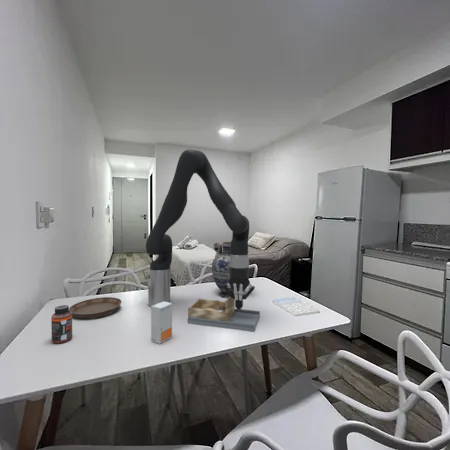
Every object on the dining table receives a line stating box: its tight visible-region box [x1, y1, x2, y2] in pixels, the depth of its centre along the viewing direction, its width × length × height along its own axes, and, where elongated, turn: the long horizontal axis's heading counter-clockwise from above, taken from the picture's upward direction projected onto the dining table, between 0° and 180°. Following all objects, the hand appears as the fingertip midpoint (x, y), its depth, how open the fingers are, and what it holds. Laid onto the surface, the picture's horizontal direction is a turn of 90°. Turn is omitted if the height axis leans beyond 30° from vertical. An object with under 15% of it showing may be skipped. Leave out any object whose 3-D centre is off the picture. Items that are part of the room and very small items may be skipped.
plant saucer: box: [69, 296, 122, 320], centre depth 114 cm, size 21×21×3 cm
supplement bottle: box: [50, 304, 73, 344], centre depth 87 cm, size 6×6×11 cm
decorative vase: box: [211, 241, 234, 298], centre depth 138 cm, size 21×19×28 cm
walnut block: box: [219, 303, 226, 312], centre depth 108 cm, size 4×4×3 cm
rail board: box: [187, 308, 261, 332], centre depth 105 cm, size 26×15×2 cm, turn 74°
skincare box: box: [150, 301, 173, 345], centre depth 88 cm, size 6×4×12 cm
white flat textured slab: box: [271, 296, 321, 317], centre depth 120 cm, size 13×20×2 cm, turn 19°
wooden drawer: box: [187, 292, 236, 321], centre depth 106 cm, size 16×12×9 cm
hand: (239, 308), depth 103 cm, fingers closed
